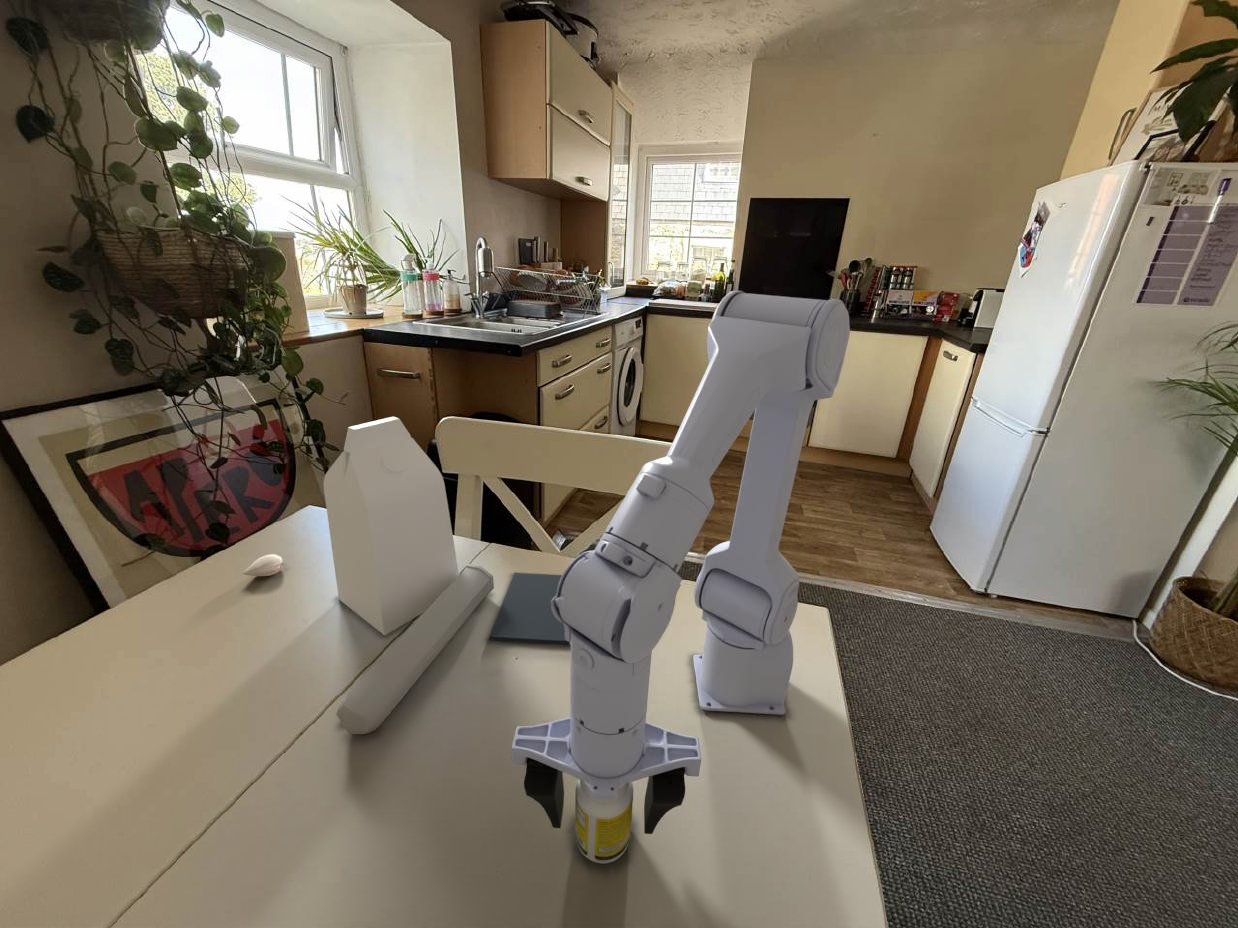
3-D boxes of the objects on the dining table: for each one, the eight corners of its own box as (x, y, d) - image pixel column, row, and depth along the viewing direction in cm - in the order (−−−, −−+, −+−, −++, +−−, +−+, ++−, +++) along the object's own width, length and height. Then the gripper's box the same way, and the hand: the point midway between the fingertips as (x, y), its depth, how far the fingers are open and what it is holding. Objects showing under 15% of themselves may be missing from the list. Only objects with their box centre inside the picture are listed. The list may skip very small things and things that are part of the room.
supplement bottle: (638, 821, 44) (644, 756, 41) (616, 876, 40) (620, 809, 37) (590, 797, 46) (592, 733, 43) (564, 847, 42) (564, 781, 39)
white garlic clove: (288, 572, 75) (285, 558, 74) (249, 587, 71) (245, 573, 70) (279, 561, 77) (275, 547, 76) (241, 575, 74) (236, 560, 73)
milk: (415, 561, 79) (393, 404, 69) (461, 590, 73) (444, 421, 63) (338, 599, 70) (300, 423, 60) (384, 635, 64) (350, 446, 54)
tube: (374, 723, 48) (498, 574, 70) (327, 697, 48) (465, 557, 70) (368, 754, 50) (489, 600, 72) (323, 729, 50) (457, 584, 73)
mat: (604, 580, 76) (604, 577, 76) (598, 646, 64) (598, 642, 63) (514, 575, 77) (514, 572, 76) (489, 640, 64) (489, 636, 63)
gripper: (497, 743, 33) (506, 866, 38) (714, 756, 33) (693, 878, 38) (520, 663, 40) (525, 778, 45) (701, 674, 40) (685, 788, 45)
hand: (603, 818), depth 42 cm, fingers open, 7 cm apart
